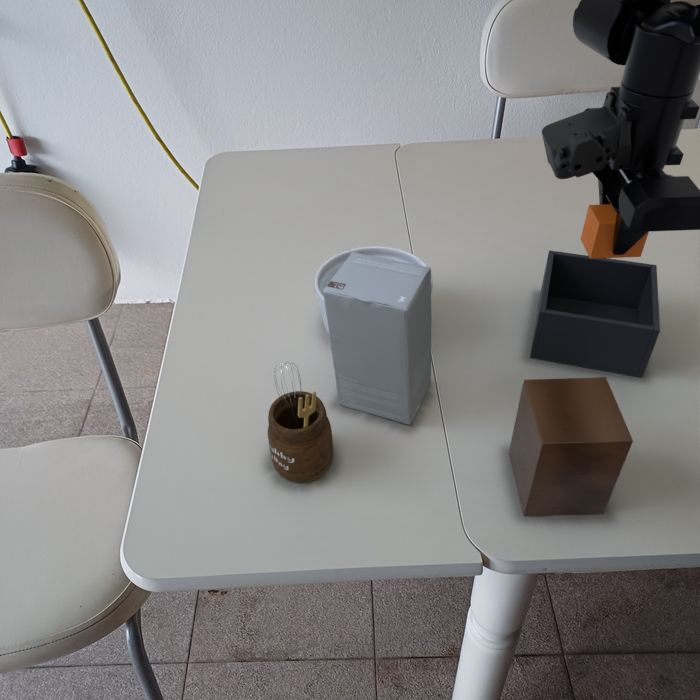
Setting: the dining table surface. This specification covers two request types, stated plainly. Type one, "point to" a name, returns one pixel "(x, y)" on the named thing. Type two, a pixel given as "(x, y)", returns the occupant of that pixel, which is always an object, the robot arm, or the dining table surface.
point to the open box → (597, 313)
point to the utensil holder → (299, 435)
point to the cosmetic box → (380, 335)
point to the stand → (567, 446)
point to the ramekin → (337, 261)
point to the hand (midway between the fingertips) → (612, 242)
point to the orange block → (604, 233)
